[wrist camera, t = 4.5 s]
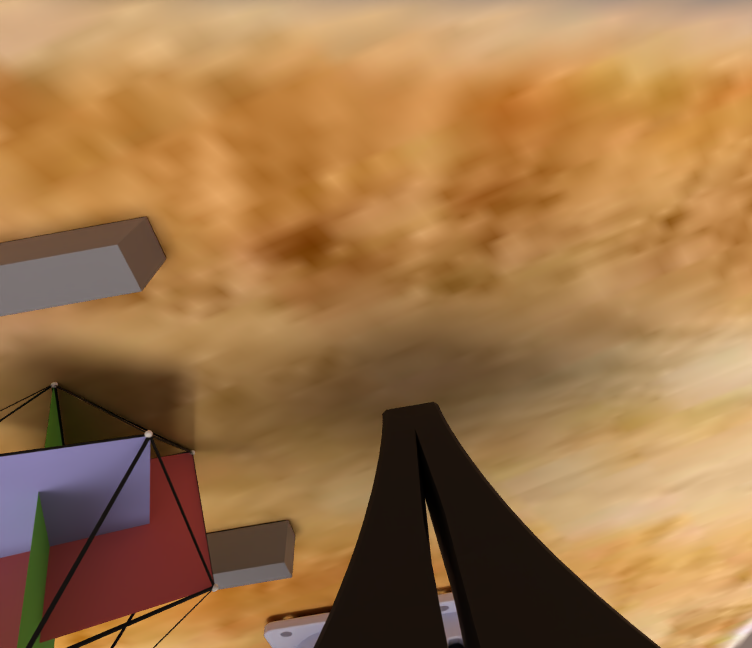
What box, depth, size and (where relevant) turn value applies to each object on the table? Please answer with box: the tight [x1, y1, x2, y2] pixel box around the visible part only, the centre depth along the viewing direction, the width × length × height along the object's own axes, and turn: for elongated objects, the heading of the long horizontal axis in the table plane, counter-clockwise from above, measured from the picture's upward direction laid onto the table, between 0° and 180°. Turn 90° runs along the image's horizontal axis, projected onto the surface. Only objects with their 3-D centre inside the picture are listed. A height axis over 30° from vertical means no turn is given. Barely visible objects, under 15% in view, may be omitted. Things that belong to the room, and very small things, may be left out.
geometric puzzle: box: [0, 382, 218, 648], centre depth 10 cm, size 7×7×8 cm
